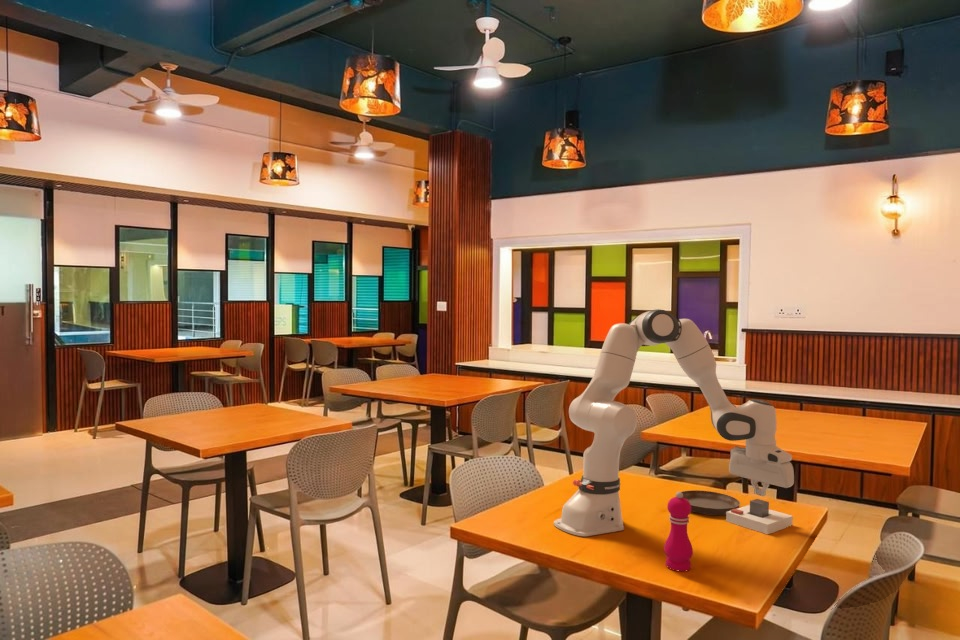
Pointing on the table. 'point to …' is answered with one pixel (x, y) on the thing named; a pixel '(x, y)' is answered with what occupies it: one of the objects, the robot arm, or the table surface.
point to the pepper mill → (678, 534)
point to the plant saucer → (710, 502)
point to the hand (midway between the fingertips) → (759, 494)
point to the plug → (759, 508)
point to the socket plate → (759, 520)
